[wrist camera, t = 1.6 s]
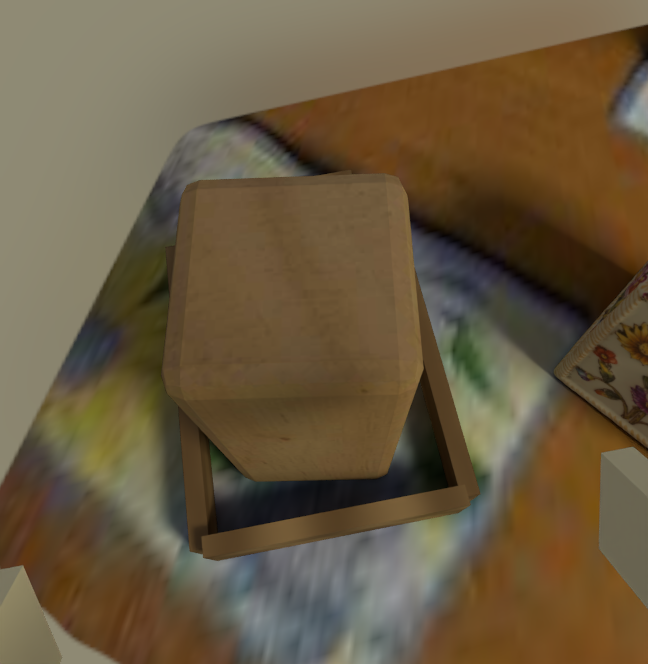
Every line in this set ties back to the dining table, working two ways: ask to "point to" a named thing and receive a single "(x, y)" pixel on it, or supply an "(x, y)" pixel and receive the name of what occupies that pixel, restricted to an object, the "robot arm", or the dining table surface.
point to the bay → (341, 520)
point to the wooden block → (295, 323)
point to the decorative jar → (615, 360)
